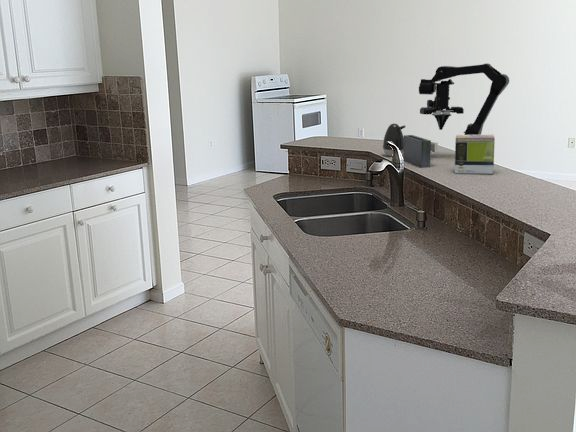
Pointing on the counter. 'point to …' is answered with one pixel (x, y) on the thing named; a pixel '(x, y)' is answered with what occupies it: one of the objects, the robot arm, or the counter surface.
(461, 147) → the tea box
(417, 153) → the button panel
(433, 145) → the ivory button
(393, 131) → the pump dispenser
